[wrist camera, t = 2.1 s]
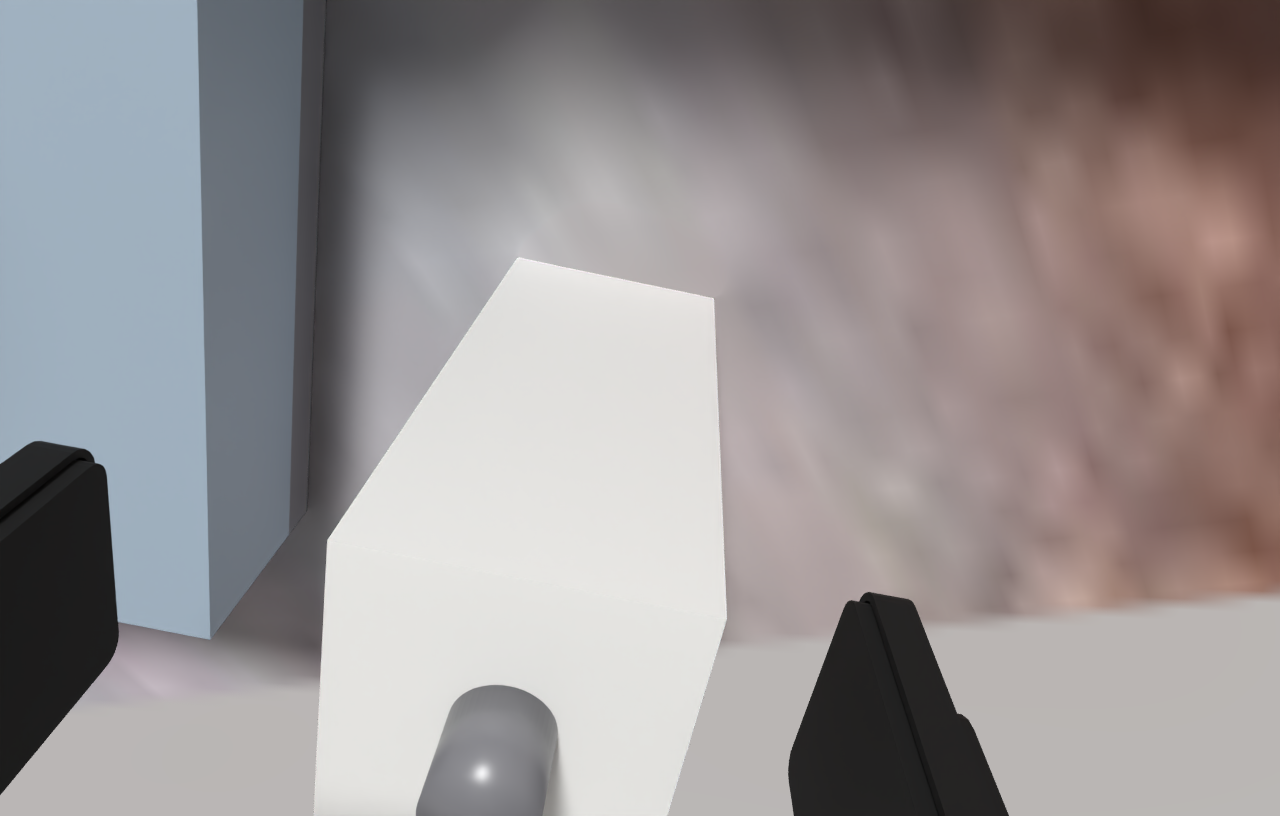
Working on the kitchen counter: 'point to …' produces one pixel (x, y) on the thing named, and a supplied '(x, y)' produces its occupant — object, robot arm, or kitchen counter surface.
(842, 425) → the kitchen counter surface
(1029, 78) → the kitchen counter surface
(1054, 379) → the kitchen counter surface
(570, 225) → the kitchen counter surface
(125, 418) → the socket plate
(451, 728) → the white square peg
